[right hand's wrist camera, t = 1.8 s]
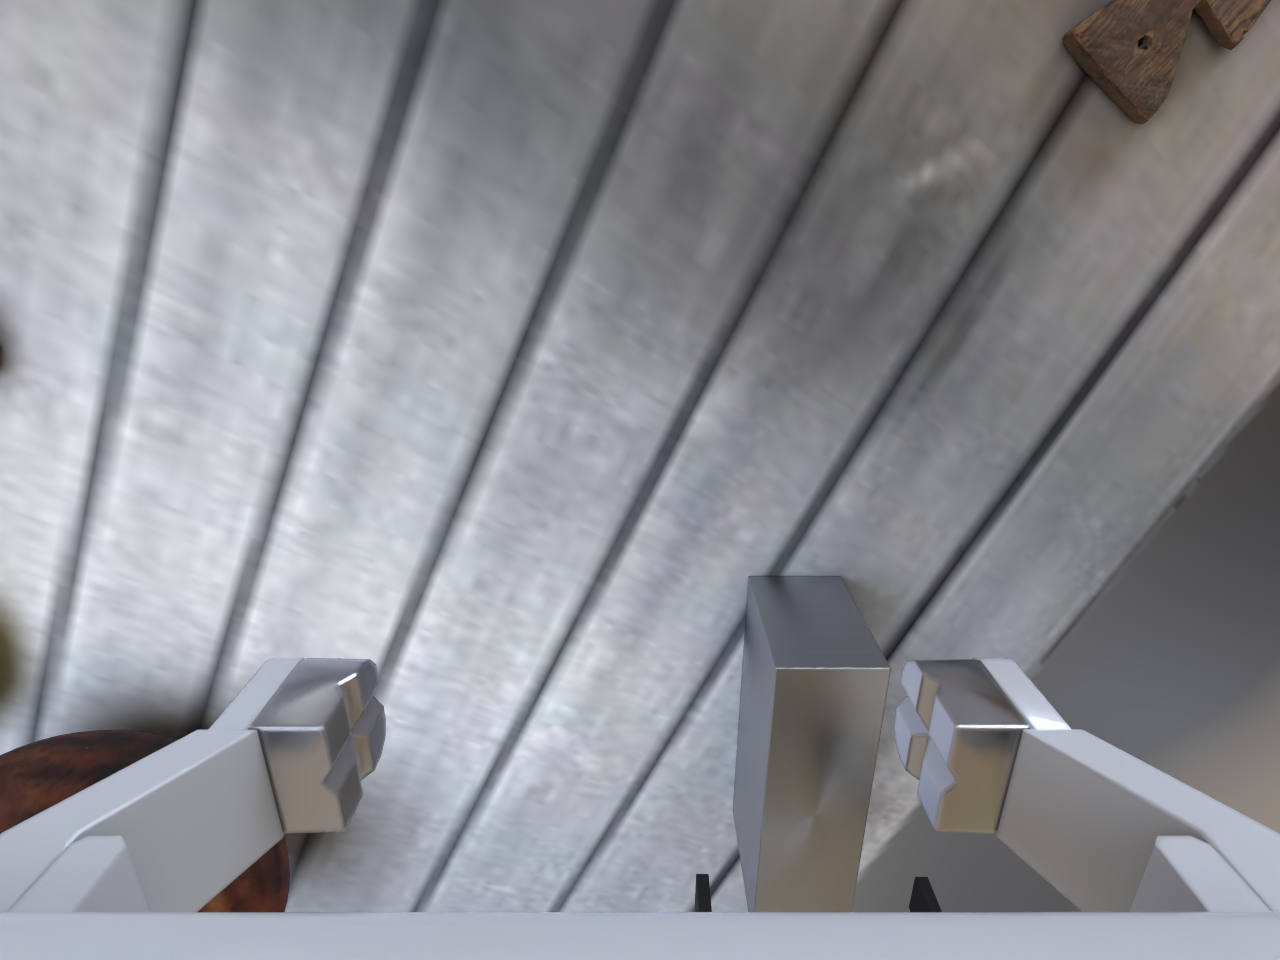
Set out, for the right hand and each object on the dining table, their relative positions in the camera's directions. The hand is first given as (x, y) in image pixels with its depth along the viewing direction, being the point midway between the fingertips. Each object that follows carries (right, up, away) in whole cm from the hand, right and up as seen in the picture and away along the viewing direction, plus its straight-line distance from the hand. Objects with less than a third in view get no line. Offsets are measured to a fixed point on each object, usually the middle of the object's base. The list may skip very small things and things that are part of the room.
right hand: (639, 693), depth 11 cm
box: (+10, -13, +40) cm, 43 cm away
